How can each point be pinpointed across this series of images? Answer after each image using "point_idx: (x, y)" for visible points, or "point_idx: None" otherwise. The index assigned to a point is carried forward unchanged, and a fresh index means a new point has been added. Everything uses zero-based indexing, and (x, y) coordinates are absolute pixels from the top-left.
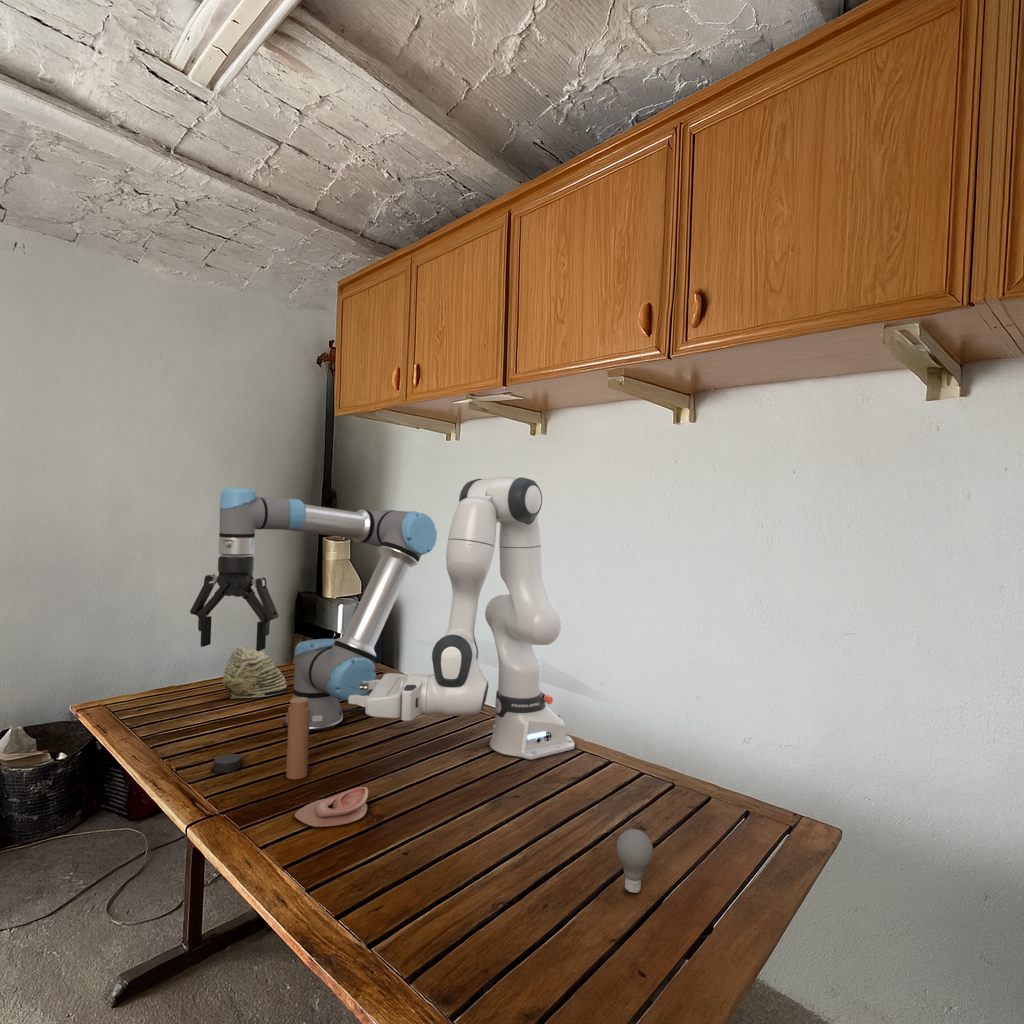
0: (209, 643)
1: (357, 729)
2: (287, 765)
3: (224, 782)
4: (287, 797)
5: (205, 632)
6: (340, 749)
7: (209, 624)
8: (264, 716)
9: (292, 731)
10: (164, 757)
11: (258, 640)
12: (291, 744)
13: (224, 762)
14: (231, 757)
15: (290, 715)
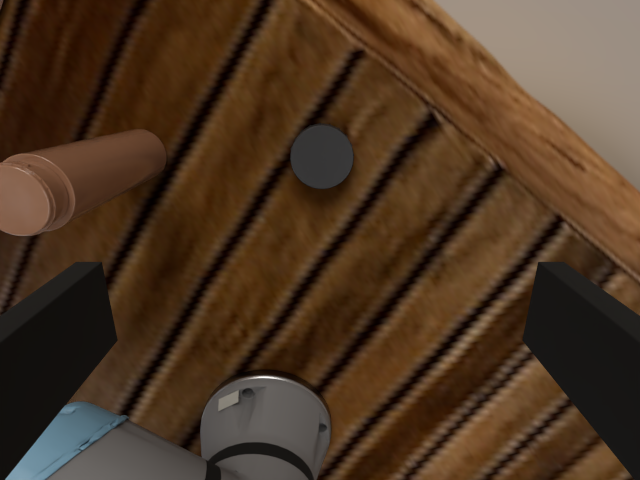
0: (529, 334)
1: (156, 408)
2: (141, 137)
3: (281, 75)
4: (88, 32)
5: (603, 340)
6: (130, 304)
7: (637, 446)
8: (395, 428)
9: (75, 143)
10: (500, 174)
11: (32, 302)
12: (99, 139)
13: (316, 135)
14: (316, 167)
15: (56, 155)
